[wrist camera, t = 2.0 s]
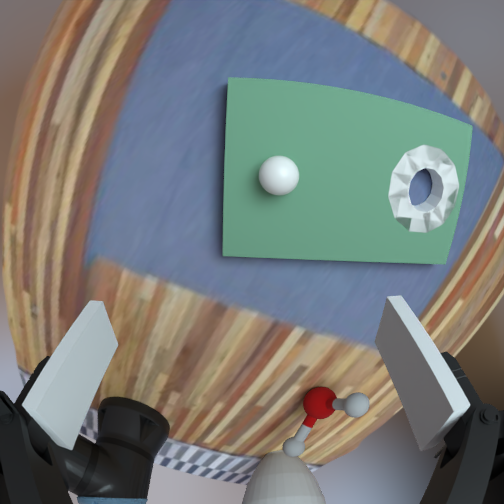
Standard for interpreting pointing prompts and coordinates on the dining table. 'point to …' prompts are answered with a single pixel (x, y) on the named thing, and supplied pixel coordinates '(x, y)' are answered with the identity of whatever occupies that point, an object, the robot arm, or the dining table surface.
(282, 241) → the putting mat
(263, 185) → the ball
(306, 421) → the molecular model
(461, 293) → the dining table surface
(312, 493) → the vase
